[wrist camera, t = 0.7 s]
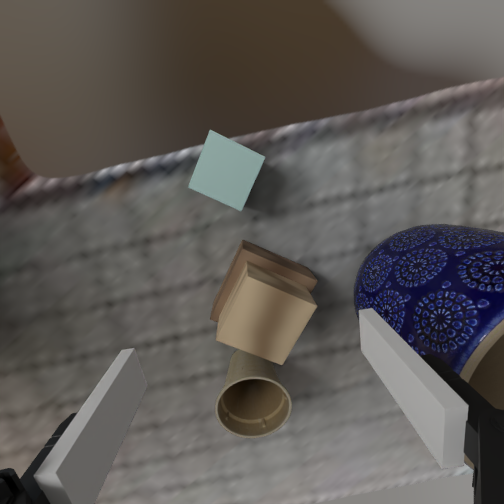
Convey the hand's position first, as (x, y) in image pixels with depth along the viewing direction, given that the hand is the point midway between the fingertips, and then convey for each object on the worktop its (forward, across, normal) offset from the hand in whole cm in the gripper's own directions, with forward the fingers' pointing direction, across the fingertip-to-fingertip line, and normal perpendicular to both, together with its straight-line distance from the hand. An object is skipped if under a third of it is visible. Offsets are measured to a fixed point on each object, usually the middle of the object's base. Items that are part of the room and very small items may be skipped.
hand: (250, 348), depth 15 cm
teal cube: (+21, 0, +10) cm, 23 cm away
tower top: (+16, +1, -5) cm, 17 cm away
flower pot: (+21, -2, -18) cm, 28 cm away
